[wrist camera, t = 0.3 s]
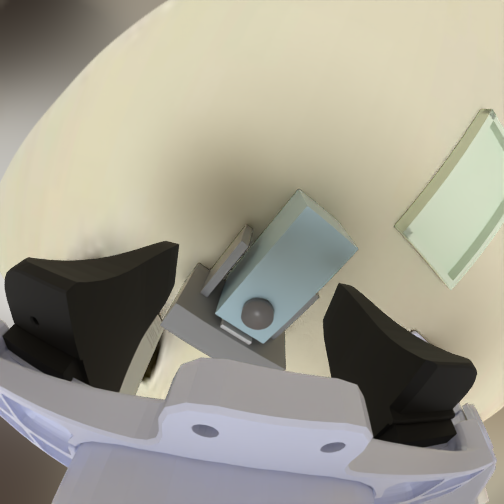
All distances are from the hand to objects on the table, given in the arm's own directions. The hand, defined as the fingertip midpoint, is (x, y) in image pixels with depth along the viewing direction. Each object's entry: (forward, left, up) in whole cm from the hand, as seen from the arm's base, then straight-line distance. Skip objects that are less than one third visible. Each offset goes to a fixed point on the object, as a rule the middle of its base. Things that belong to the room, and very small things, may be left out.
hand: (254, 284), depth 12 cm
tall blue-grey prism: (-2, +1, -10) cm, 10 cm away
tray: (-12, -14, -9) cm, 21 cm away
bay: (-2, +5, -9) cm, 11 cm away
